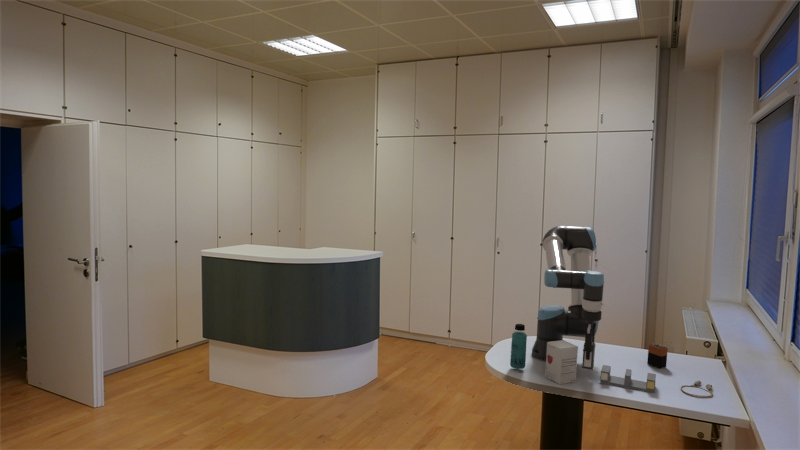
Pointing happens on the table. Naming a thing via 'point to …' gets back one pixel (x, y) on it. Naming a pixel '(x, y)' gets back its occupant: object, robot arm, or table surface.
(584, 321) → the robot arm
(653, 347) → the battery
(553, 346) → the supplement box
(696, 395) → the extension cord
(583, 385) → the table surface
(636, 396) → the table surface
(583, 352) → the plug
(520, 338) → the beverage bottle
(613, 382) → the grey three-post rail
